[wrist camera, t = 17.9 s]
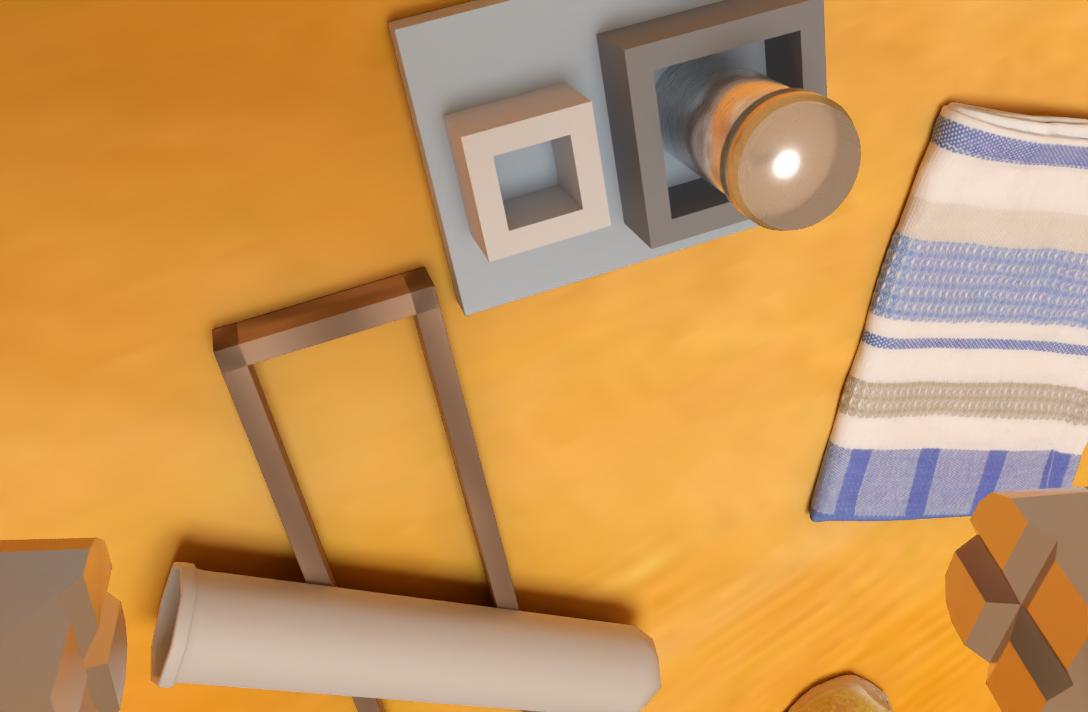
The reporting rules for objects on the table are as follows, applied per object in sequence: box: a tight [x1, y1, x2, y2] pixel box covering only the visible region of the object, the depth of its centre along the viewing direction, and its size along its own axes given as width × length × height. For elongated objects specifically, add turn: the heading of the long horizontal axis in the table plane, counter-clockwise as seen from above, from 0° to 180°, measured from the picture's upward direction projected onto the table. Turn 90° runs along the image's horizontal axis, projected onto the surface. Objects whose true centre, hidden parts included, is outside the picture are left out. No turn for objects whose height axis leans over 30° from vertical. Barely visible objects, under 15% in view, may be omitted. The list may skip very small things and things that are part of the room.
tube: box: [151, 562, 661, 712], centre depth 50 cm, size 5×5×25 cm
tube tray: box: [212, 267, 540, 712], centre depth 50 cm, size 9×33×2 cm, turn 11°
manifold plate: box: [388, 0, 827, 316], centre depth 41 cm, size 16×12×4 cm
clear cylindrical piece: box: [655, 53, 861, 231], centre depth 39 cm, size 5×5×8 cm
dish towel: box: [810, 102, 1088, 522], centre depth 54 cm, size 17×24×3 cm
